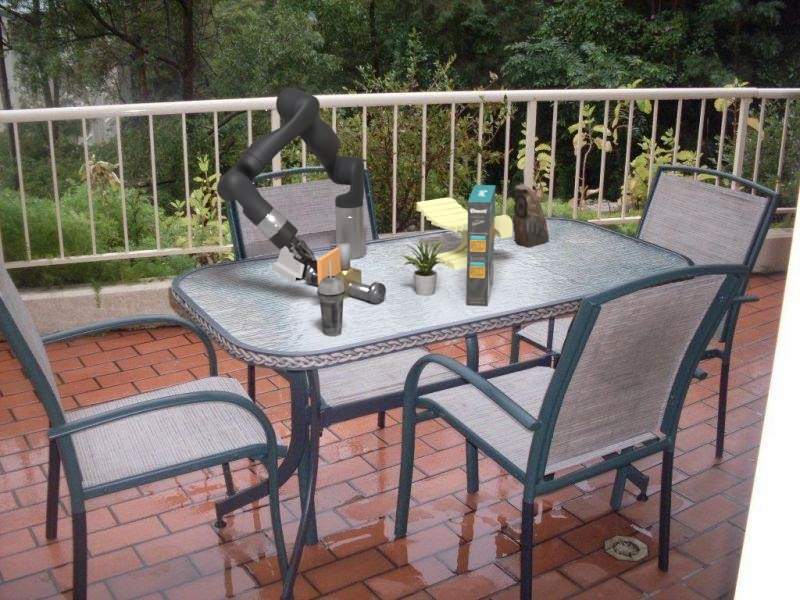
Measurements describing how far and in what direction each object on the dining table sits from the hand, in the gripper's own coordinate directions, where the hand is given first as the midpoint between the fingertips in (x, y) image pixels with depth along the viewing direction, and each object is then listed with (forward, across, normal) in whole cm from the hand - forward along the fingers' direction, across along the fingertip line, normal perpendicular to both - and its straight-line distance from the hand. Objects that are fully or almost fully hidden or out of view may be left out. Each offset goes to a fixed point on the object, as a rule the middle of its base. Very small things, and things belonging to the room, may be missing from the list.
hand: (321, 271), depth 259 cm
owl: (+55, -64, +43) cm, 95 cm away
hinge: (0, -32, -15) cm, 35 cm away
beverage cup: (+10, +21, -5) cm, 24 cm away
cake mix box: (+39, -9, +26) cm, 48 cm away
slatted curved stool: (+37, -43, +24) cm, 62 cm away
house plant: (+28, -12, +14) cm, 34 cm away
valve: (+11, -11, -3) cm, 16 cm away
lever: (+4, -4, +1) cm, 6 cm away
